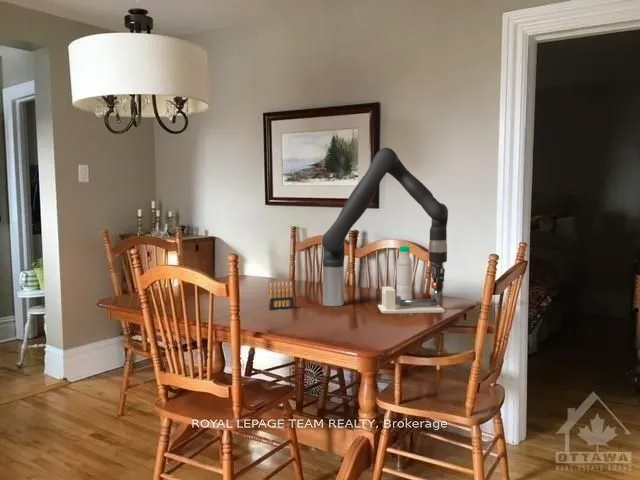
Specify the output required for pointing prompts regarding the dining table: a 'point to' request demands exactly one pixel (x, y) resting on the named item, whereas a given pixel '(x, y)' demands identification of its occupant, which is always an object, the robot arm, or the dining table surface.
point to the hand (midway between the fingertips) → (437, 290)
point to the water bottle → (404, 274)
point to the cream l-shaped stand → (391, 307)
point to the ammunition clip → (281, 297)
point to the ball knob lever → (421, 301)
